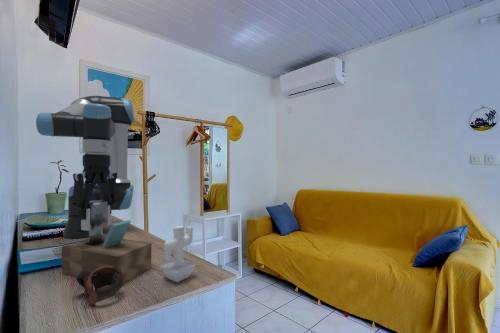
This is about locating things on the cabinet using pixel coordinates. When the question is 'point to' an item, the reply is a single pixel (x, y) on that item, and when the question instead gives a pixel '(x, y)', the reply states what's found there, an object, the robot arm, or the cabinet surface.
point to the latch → (116, 233)
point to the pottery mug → (101, 283)
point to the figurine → (178, 255)
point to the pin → (97, 220)
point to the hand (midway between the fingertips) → (96, 227)
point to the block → (107, 257)
